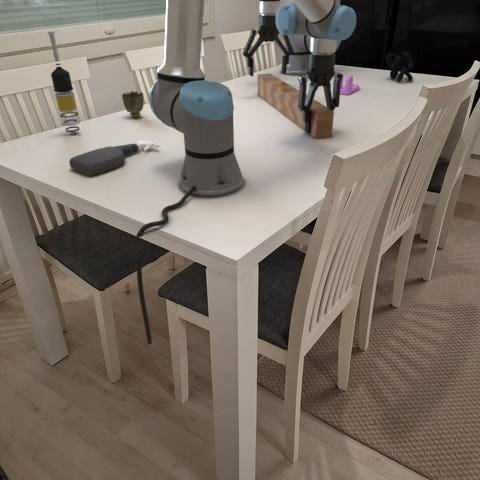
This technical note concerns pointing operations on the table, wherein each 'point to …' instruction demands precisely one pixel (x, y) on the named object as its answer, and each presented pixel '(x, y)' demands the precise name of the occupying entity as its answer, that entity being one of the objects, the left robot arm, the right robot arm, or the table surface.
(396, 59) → the squiggle
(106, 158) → the spray bottle
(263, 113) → the table surface
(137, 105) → the cup
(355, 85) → the bracket
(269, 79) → the bar
